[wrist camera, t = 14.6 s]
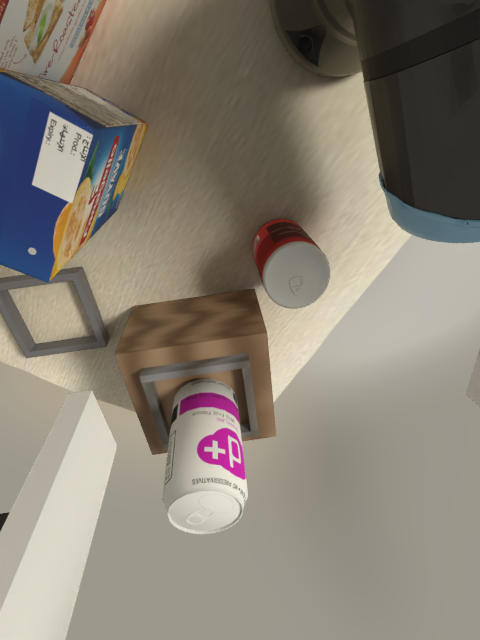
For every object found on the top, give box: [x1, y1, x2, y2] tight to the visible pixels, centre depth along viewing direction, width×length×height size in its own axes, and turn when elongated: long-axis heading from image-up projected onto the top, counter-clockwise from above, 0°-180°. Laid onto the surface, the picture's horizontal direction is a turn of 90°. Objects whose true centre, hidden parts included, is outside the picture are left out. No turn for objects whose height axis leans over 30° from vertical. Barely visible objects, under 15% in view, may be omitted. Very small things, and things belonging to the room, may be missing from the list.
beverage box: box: [0, 68, 148, 283], centre depth 31 cm, size 7×11×22 cm, turn 151°
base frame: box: [0, 267, 110, 358], centre depth 49 cm, size 12×12×2 cm
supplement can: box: [162, 379, 248, 534], centre depth 38 cm, size 8×8×15 cm
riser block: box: [115, 289, 276, 455], centre depth 49 cm, size 18×18×14 cm
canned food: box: [253, 219, 330, 308], centre depth 43 cm, size 8×8×11 cm
